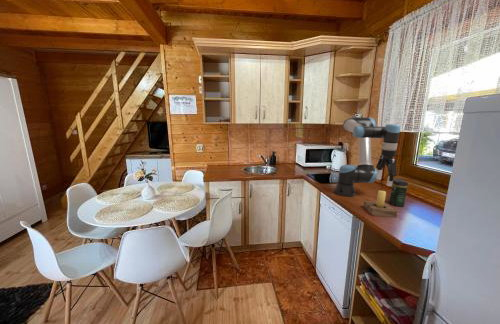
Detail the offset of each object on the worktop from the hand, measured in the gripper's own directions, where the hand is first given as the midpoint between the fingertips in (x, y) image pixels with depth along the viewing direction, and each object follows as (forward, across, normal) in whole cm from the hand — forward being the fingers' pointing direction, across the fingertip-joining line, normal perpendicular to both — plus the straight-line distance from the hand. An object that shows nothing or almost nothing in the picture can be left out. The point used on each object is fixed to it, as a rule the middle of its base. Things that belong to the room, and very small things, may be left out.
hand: (383, 182), depth 132 cm
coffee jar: (+20, -16, +19) cm, 32 cm away
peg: (+20, 0, 0) cm, 20 cm away
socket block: (+20, 0, 0) cm, 20 cm away
